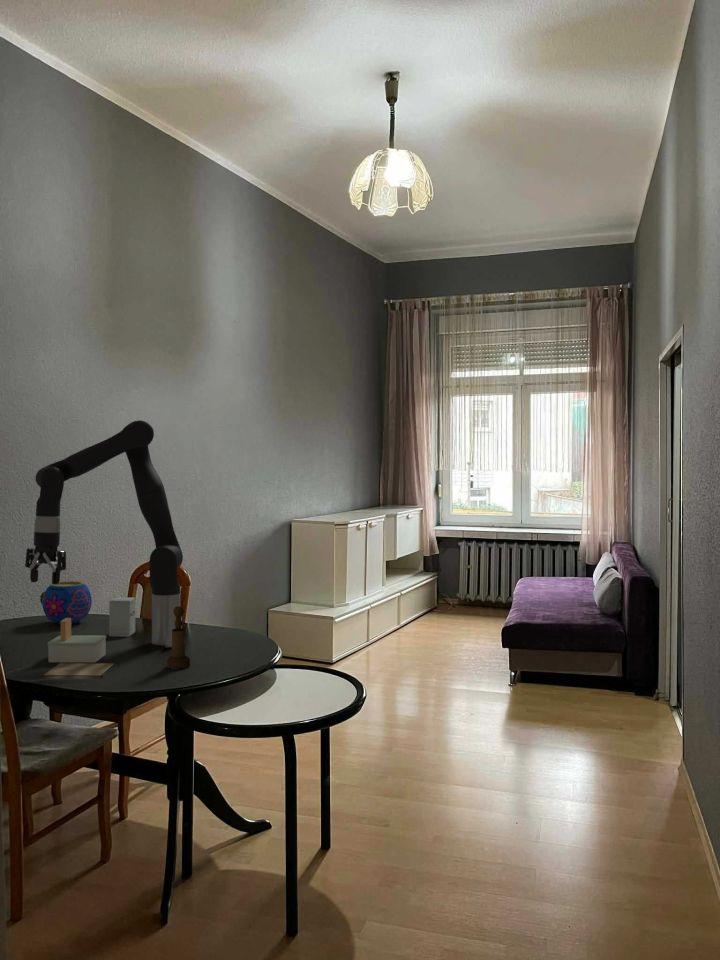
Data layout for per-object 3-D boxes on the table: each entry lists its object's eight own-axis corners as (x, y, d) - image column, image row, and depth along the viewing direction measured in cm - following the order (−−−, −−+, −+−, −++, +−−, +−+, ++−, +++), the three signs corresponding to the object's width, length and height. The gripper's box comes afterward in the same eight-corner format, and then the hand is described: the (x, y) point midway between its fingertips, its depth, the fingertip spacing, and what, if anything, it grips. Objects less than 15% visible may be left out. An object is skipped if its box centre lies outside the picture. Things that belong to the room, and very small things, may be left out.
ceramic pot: (72, 616, 317) (72, 578, 317) (101, 622, 307) (101, 582, 307) (32, 624, 303) (31, 584, 302) (61, 630, 293) (61, 588, 292)
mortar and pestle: (167, 670, 238) (167, 609, 238) (166, 664, 245) (166, 605, 244) (190, 668, 240) (190, 608, 240) (189, 663, 247) (189, 604, 246)
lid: (106, 640, 253) (106, 616, 253) (95, 647, 243) (95, 623, 243) (59, 639, 253) (59, 616, 253) (47, 647, 243) (47, 622, 243)
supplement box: (129, 636, 282) (129, 600, 282) (108, 636, 283) (108, 600, 282) (136, 632, 290) (136, 597, 289) (115, 632, 290) (115, 596, 290)
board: (114, 666, 242) (114, 663, 242) (100, 678, 229) (100, 675, 229) (60, 666, 242) (60, 663, 242) (43, 678, 229) (43, 675, 229)
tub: (105, 657, 253) (105, 638, 253) (95, 665, 243) (95, 645, 243) (60, 657, 253) (60, 638, 253) (48, 665, 243) (48, 645, 243)
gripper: (73, 531, 254) (71, 583, 253) (38, 529, 259) (36, 580, 259) (55, 532, 247) (53, 585, 246) (20, 529, 252) (18, 582, 252)
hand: (44, 582), depth 253 cm, fingers open, 8 cm apart
